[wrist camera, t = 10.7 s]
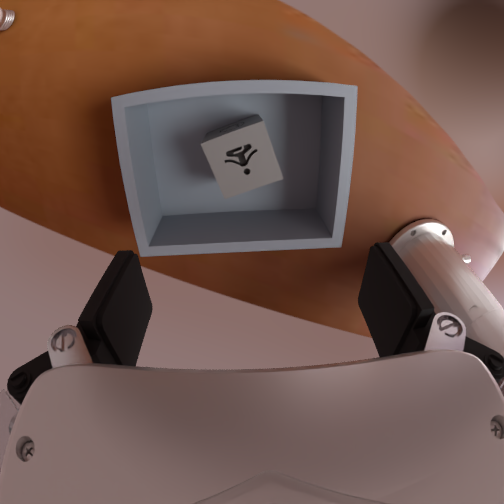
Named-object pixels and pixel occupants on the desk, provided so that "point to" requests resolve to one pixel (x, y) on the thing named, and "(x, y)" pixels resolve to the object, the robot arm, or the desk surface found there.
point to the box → (202, 177)
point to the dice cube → (241, 156)
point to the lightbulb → (6, 18)
